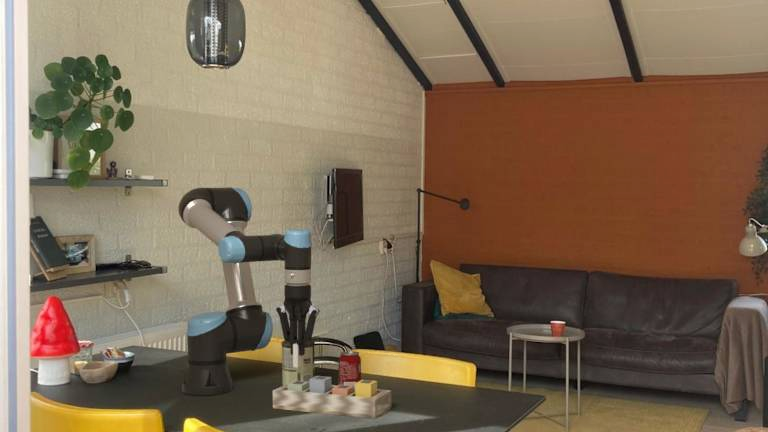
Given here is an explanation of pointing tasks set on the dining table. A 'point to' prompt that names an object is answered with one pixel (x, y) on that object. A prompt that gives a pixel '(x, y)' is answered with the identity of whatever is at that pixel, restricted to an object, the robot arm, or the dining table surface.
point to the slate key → (320, 384)
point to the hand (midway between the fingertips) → (297, 366)
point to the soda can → (349, 368)
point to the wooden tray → (332, 402)
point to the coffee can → (301, 372)
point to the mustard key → (366, 388)
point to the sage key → (298, 386)
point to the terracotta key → (343, 390)
